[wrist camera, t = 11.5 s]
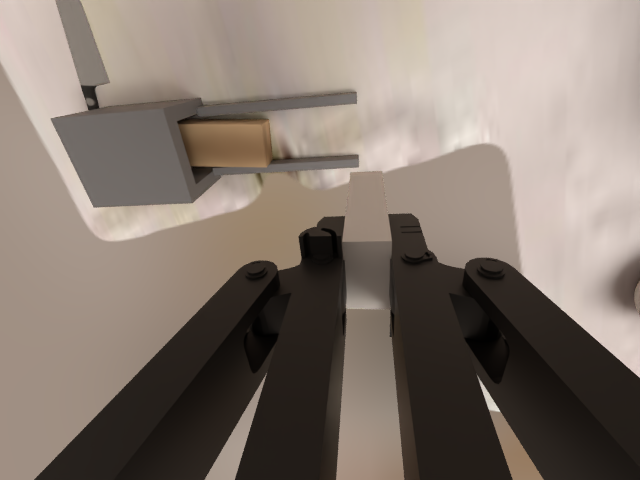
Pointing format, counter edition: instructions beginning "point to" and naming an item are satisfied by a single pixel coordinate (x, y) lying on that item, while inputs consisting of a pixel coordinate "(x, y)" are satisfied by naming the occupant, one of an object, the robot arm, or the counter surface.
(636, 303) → the pump dispenser
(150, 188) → the grey u-channel bracket
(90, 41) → the chef's knife
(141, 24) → the counter surface
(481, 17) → the counter surface
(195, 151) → the oak board
